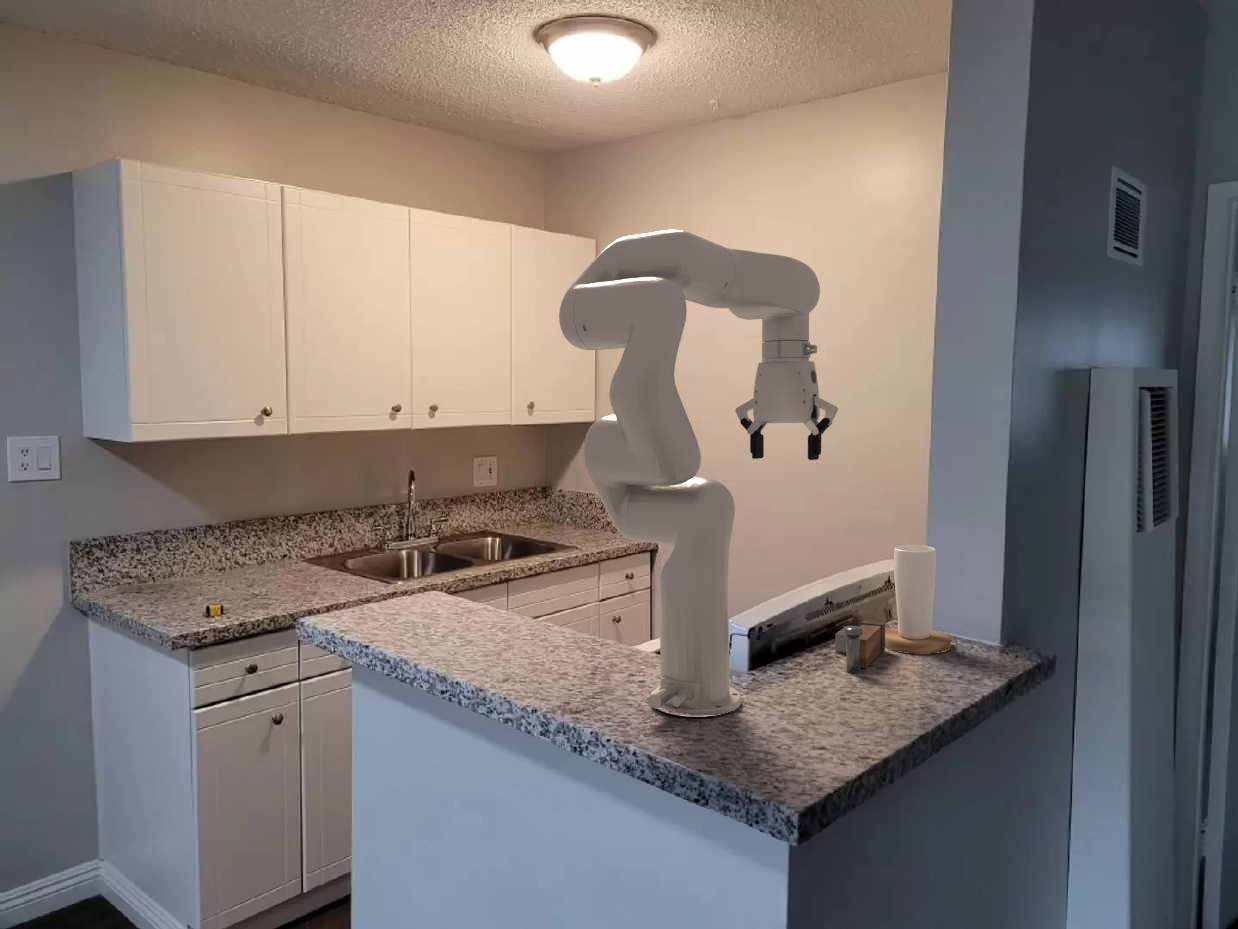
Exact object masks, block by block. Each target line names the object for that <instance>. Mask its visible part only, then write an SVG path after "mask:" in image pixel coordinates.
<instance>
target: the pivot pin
mask: <svg viewBox="0 0 1238 929" xmlns="http://www.w3.org/2000/svg"><path fill="white" fill-rule="evenodd" d="M843 629H844V634H846V653H845V654H846V660H845V661H846V673H848V674H860V673H861V667H860V635H862V634H863V628H862V627H860V626H859V625H846V626H844V627H843Z"/></svg>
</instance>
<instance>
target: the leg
mask: <svg viewBox="0 0 1238 929" xmlns="http://www.w3.org/2000/svg"><path fill="white" fill-rule="evenodd" d="M859 627H862V628H863V634H862V635H860V668H864V669H867V668H868V667H869V666H870V665H871V664H872V663H873V662H874V660H876V659H877V658H878V656H879V655H881V653H884V652H885V651H886V647H885V631H886V622H885V621H876V620H868V619H867V620H866V619H864V620H863V621H862V622H861V623H860V626H859Z"/></svg>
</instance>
